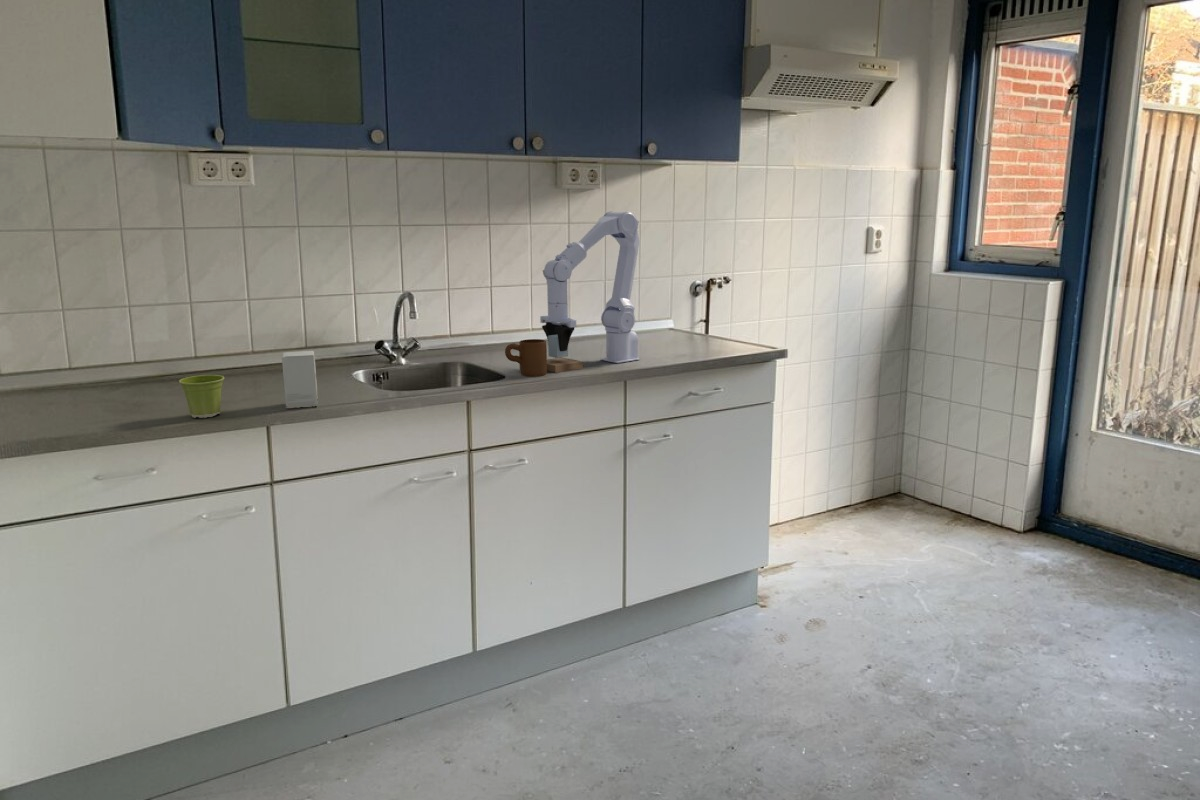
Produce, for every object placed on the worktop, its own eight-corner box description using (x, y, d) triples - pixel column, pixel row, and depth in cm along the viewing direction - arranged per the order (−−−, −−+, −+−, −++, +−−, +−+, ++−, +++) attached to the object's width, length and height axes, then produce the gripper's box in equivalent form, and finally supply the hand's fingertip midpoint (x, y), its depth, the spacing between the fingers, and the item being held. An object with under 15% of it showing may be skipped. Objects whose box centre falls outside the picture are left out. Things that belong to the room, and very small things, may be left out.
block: (559, 354, 261) (559, 334, 260) (568, 356, 258) (567, 335, 257) (548, 356, 258) (548, 335, 257) (557, 358, 255) (556, 337, 254)
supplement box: (318, 407, 212) (314, 354, 209) (285, 409, 210) (280, 356, 207) (318, 401, 219) (314, 350, 216) (286, 403, 217) (282, 351, 214)
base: (562, 363, 266) (562, 357, 266) (583, 368, 258) (583, 361, 258) (534, 368, 260) (534, 361, 259) (555, 372, 252) (555, 365, 252)
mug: (510, 379, 244) (509, 345, 242) (501, 374, 250) (500, 341, 248) (551, 375, 249) (550, 341, 247) (540, 370, 255) (540, 338, 253)
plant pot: (232, 416, 203) (228, 379, 201) (188, 423, 198) (183, 384, 196) (222, 409, 211) (218, 373, 209) (179, 415, 206) (175, 378, 204)
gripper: (531, 301, 258) (532, 348, 261) (562, 305, 247) (562, 354, 250) (551, 300, 262) (551, 345, 265) (581, 304, 251) (582, 351, 254)
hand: (558, 350), depth 258 cm, fingers closed on block, 4 cm apart
